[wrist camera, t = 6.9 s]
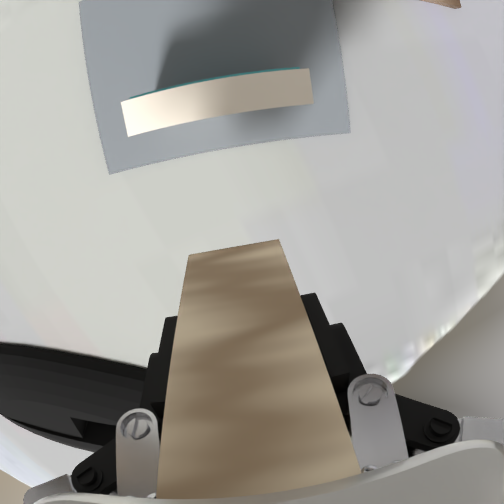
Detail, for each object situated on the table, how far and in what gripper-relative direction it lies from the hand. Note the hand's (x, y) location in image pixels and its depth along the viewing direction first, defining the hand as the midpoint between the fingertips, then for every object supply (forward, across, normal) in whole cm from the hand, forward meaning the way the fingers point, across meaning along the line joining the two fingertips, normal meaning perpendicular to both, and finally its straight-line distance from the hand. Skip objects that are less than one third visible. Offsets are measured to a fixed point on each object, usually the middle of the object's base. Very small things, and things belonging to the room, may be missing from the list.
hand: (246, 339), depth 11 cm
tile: (+12, 0, -8) cm, 15 cm away
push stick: (+4, 0, 0) cm, 4 cm away
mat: (+17, 0, -13) cm, 21 cm away
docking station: (+18, +31, +26) cm, 44 cm away
